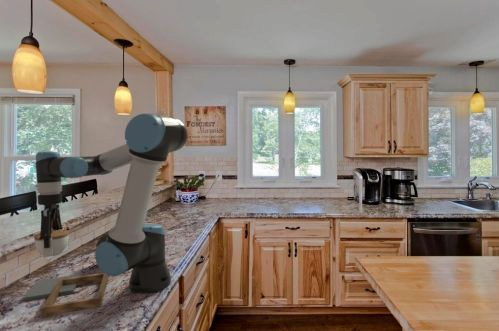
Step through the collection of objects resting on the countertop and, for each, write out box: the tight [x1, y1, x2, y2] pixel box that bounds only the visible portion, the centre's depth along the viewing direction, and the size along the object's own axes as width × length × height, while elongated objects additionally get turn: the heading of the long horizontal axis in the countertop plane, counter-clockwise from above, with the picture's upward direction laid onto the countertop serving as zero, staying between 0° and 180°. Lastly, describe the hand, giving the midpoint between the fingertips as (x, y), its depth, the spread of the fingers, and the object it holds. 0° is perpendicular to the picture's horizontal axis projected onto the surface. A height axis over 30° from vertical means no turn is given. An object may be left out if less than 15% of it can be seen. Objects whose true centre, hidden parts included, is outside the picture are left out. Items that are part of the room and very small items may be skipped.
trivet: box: [22, 273, 82, 302], centre depth 110 cm, size 15×15×1 cm
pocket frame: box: [40, 272, 109, 318], centre depth 103 cm, size 16×22×3 cm
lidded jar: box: [33, 229, 70, 258], centre depth 110 cm, size 11×11×9 cm
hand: (52, 251), depth 110 cm, fingers closed on lidded jar, 11 cm apart
